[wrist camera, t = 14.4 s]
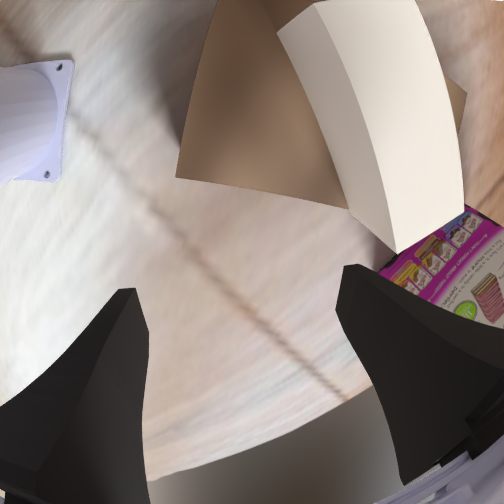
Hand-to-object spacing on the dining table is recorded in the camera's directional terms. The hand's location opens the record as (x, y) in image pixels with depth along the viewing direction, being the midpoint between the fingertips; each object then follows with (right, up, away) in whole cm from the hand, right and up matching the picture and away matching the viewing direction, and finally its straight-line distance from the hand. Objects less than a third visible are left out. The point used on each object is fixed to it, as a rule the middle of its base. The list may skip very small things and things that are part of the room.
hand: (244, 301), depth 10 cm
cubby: (+4, +11, +6) cm, 13 cm away
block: (+5, +8, +1) cm, 9 cm away
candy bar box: (+16, +2, +14) cm, 22 cm away
